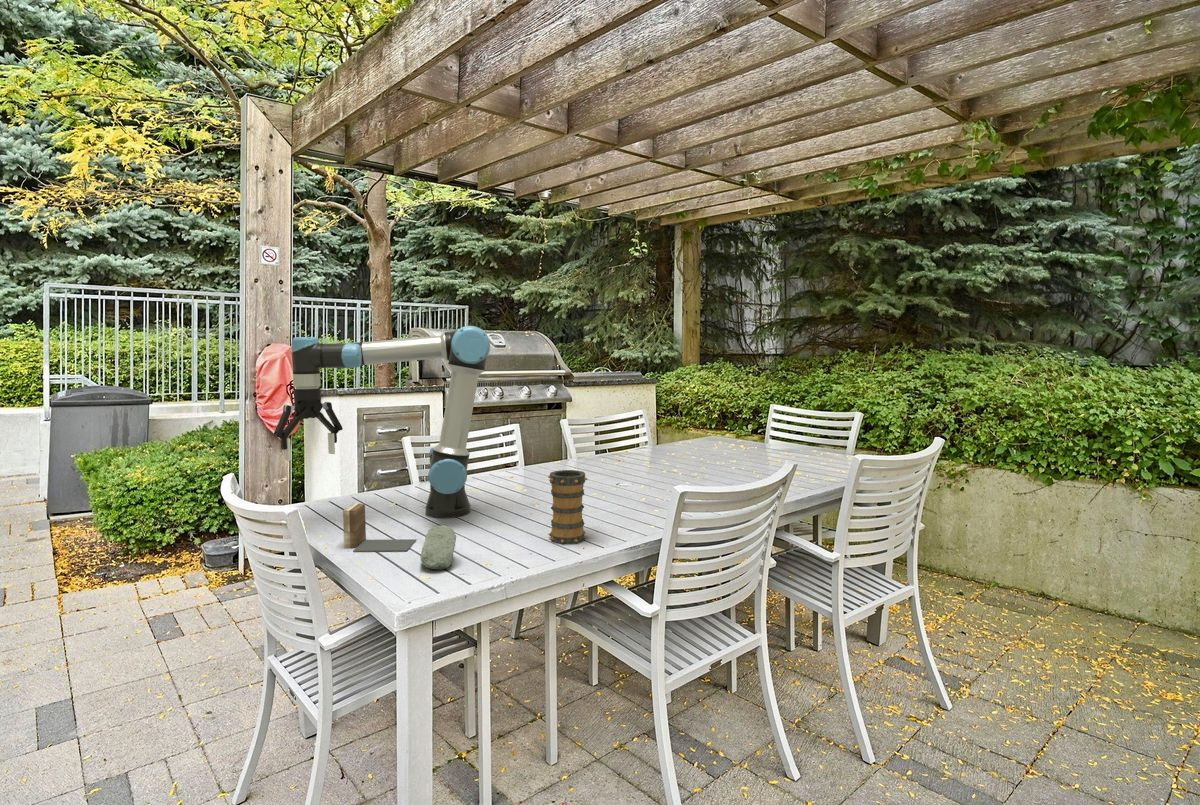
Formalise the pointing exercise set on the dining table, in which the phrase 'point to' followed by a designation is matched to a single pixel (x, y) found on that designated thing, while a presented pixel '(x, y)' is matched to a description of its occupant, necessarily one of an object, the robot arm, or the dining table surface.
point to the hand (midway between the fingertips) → (310, 456)
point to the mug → (567, 506)
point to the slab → (354, 525)
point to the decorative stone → (438, 547)
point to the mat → (385, 545)
